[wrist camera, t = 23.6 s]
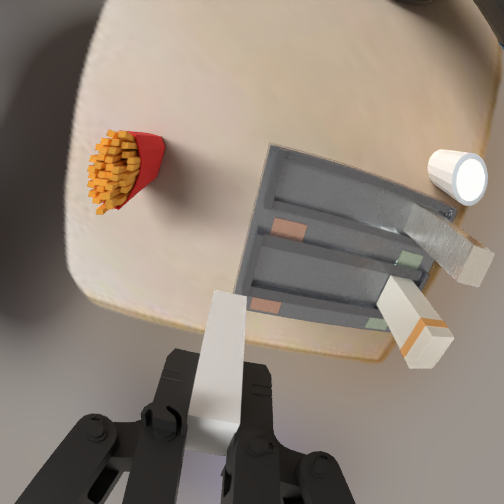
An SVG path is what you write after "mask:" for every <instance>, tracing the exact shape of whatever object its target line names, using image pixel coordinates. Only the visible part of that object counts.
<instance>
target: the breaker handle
mask: <svg viewBox="0 0 504 504" xmlns="http://www.w3.org/2000/svg"><path fill="white" fill-rule="evenodd" d="M376 304H377V306H378V308H379V310H380V312H381V314H382V315H383V317H384V319H385V321H386V323H387V325H388V327H389V329H390V331H391V333H392V335H393V336H394V338H395V340H396V342H397V344H398V346H399V348H400V351H401V354H402V356H403V358H404V359H405V361H406V363H407V365H408V367H409V368H410V369H432V368H433V367H434V366H435V365H436V363H437V362H438V360H439V359H440V358H441V357H442V355H443V354H444V352H445V351H446V349H447V348H448V347H449V345H450V344H451V343H452V341H453V340H454V336H453V335H452V333H451V332H450V330H449V329H448V326H447V325H446V324H445V322H444V321H442V319H441V318H440V316H439V315H438V313H437V312H436V311H435V309H434V308H433V307H432V305H431V304H430V303H429V301H428V300H427V299H426V297H425V296H424V295H423V293H422V292H421V291H420V290H419V288H418V287H417V286H416V284H415V283H414V282H413V281H412V280H411V279H407V278H402V277H398V276H393V275H390V277H389V279H388V281H387V283H386V285H385V287H384V290H383V292H382V294H381V296H380V298H379V300H378V301H377V303H376Z"/></svg>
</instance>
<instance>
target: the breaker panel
mask: <svg viewBox="0 0 504 504" xmlns="http://www.w3.org/2000/svg"><path fill="white" fill-rule="evenodd" d="M455 209H456V208H454V207H452V206H451V205H449V204H447V203H445V202H443V201H441V200H439V199H437V198H434V197H432V196H430V195H427V194H425V193H423V192H420V191H418V190H415V189H413V188H410V187H408V186H405V185H403V184H400V183H398V182H395V181H392V180H390V179H387V178H384V177H382V176H379V175H376V174H373V173H371V172H368V171H365V170H362V169H359V168H356V167H353V166H350V165H347V164H344V163H340V162H337V161H334V160H331V159H328V158H324V157H321V156H317V155H314V154H310V153H307V152H303V151H300V150H296V149H292V148H288V147H284V146H280V145H276V144H272V143H269V147H268V151H267V155H266V159H265V163H264V167H263V171H262V175H261V179H260V183H259V187H258V191H257V196H256V200H255V204H254V208H253V212H252V216H251V220H250V224H249V228H248V233H247V237H246V241H245V245H244V249H243V253H242V257H241V262H240V266H239V270H238V274H237V278H236V283H235V287H234V291H233V294H237V295H242V296H247V305H246V310H248V311H253V312H259V313H264V314H270V315H275V316H281V317H287V318H293V319H298V320H305V321H311V322H317V323H324V324H330V325H337V326H344V327H352V328H359V329H367V330H375V331H383V332H391V331H390V329H389V327H388V325H387V323H386V321H385V319H384V317H383V315H382V314H381V312H380V310H379V308H378V306H377V304H376V303H377V301H378V300H379V298H380V296H381V294H382V292H383V290H384V287H385V285H386V283H387V281H388V279H389V277H390V275H393V276H398V277H402V278H407V279H411V280H412V281H413V282H414V283H415V284H416V286H417V287H418V288H419V290H420V291H422V289H423V287H424V285H425V283H426V281H427V279H428V277H429V274H428V272H429V270H430V268H431V266H432V264H433V262H434V260H435V261H436V262H437V263H438V264H439V265H440V266H441V267H442V268H443V269H445V270H446V272H447V273H448V274H449V275H450V276H451V277H452V278H453V279H454V280H455V281H456V282H458V283H462V284H466V285H470V286H474V287H478V288H479V286H480V284H481V282H482V280H483V279H484V276H485V275H486V272H487V270H488V268H489V266H490V264H491V262H492V260H493V258H494V256H495V253H493V252H492V251H491V250H489V249H488V248H487V247H486V246H484V245H483V244H482V243H480V242H479V241H478V240H476V239H475V238H473V237H472V236H471V235H469V234H468V233H467V232H465V231H464V230H463V229H461V228H460V227H458V226H457V225H455V224H454V223H453V221H454V218H455V216H456V213H457V210H455Z"/></svg>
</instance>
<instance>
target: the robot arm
mask: <svg viewBox="0 0 504 504" xmlns="http://www.w3.org/2000/svg"><path fill="white" fill-rule="evenodd" d="M397 1H399V2H403V3H406V4H411V5H423V4H427V3H430V2H432V1H433V0H397ZM473 1H474V3H475V4H476V5H477V7H478V8H479V10H480V11H481V13H482V14H483V16H484V17H485V19H486V20H487V22H488V24H489V25H490V27H491V29H492V30H493V32H494V34H495V35H496V37H497V39H498V43H499V44H500V46H501V48H502V49H503V50H504V0H473ZM246 305H247V296H242V295H237V294H232V293H228V292H223V291H218V290H214V294H213V298H212V303H211V307H210V312H209V316H208V321H207V325H206V330H205V334H204V339H203V343H202V348H201V353H200V354H199V353H193V352H189V351H185V350H181V349H176V348H175V349H174V350H173V351H172V352H171V353H170V354H169V355H168V356H167V359H166V362H165V365H164V369H163V371H162V375H161V378H160V381H159V384H158V387H157V391H156V394H155V397H154V401H153V402H152V403H150V404H148V405H147V406H146V407H144V409H143V411H142V412H141V420H139V421H136V422H112V421H111V420H110V419H109V418H107V417H105V416H103V415H101V414H89V415H85V416H84V417H82V418H81V419H80V420H79V421H78V422H77V423H76V425H75V426H74V427H73V428H72V430H71V431H70V432H69V433H68V435H67V436H66V437H65V439H64V440H63V441H62V442H61V443H60V445H59V446H58V447H57V449H56V450H55V451H54V453H53V454H52V455H51V456H50V458H49V459H48V460H47V461H46V463H45V464H44V465H43V467H42V468H41V469H40V470H39V472H38V473H37V474H36V476H35V477H34V478H33V480H32V481H31V483H30V484H29V485H28V486H27V488H26V489H25V491H24V492H23V493H22V494H21V496H20V497H19V498H18V500H17V501H16V503H15V504H104V503H105V501H106V499H107V498H108V496H109V494H110V493H111V491H112V490H113V488H114V486H115V485H116V483H117V482H118V480H119V478H120V477H121V475H122V474H123V472H124V471H127V472H130V474H129V478H128V482H127V486H126V490H125V494H124V498H123V502H122V504H176V500H177V494H178V487H179V481H180V475H181V469H182V462H183V455H184V450H185V449H187V450H192V451H197V452H203V453H208V454H215V455H222V456H226V453H227V457H226V465H225V466H224V468H223V470H222V473H221V476H223V482H222V494H221V504H355V501H354V499H353V497H352V494H351V492H350V490H349V487H348V485H347V483H346V481H345V478H344V476H343V474H342V471H341V469H340V467H339V464H338V463H337V461H336V460H335V458H334V457H333V456H331V455H330V454H328V453H325V452H322V451H319V452H318V451H317V452H312V453H310V454H308V455H306V454H302V453H299V452H296V451H293V450H290V449H288V448H286V447H284V446H283V445H282V444H280V443H279V442H278V440H277V439H276V437H275V435H274V431H273V412H272V389H271V387H272V384H271V374H270V373H269V370H268V368H267V367H266V365H263V364H256V363H250V362H244V361H243V359H244V341H245V323H246Z"/></svg>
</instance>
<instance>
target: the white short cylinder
mask: <svg viewBox="0 0 504 504" xmlns="http://www.w3.org/2000/svg"><path fill="white" fill-rule="evenodd" d="M428 175H429V178H430V180H431V181H432V183H433V184H434V185H436V186H437V187H438V188H440V189H441V190H443V191H444V192H446V193H447V194H448V195H450V196H451V197H453V198H454V199H455V200H457V201H458V202H459V203H461V204H463V205H465V206H472V205H474V204H476V203H477V202H479V200H480V199H481V198H482V196H483V195H484V193H485V190H486V187H487V181H488V173H487V168H486V165H485V163H484V161H483V159H482V158H481V157H479V156H478V155H477V154H474V153H467V152H460V151H452V150H442V149H440V150H438V151H436V152H434V153H433V155H432V156H431V157H430V160H429V163H428Z"/></svg>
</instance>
